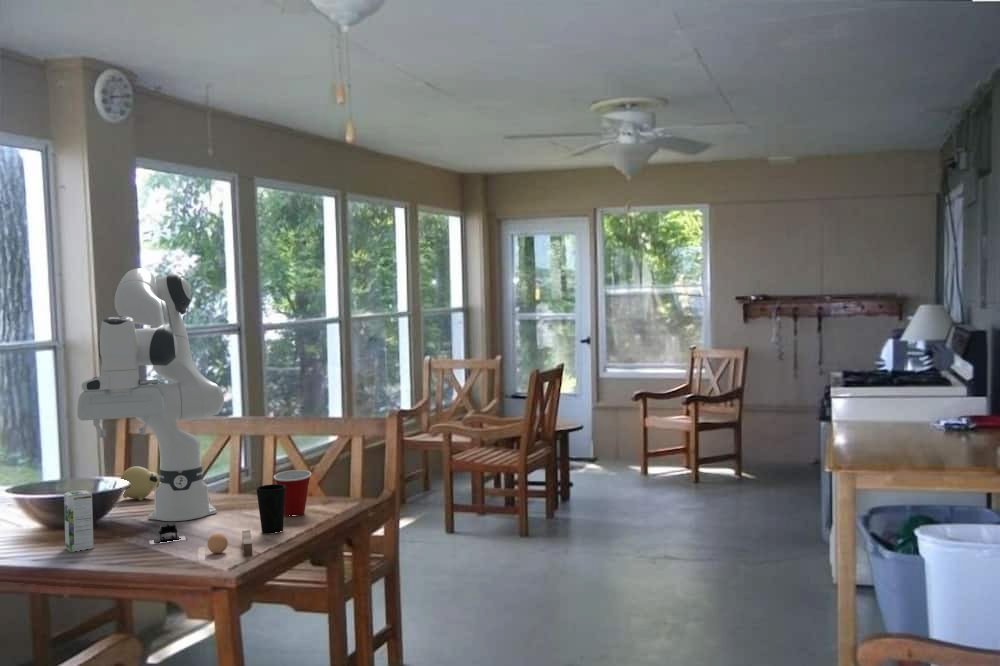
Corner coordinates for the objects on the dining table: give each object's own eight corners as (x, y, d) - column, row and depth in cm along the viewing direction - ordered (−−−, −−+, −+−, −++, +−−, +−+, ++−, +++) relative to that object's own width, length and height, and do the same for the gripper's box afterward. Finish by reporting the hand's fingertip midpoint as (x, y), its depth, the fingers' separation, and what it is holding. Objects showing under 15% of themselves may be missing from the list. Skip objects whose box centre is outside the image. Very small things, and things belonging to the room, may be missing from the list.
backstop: (242, 542, 242) (242, 530, 241) (250, 541, 242) (250, 530, 242) (243, 556, 228) (243, 544, 228) (252, 555, 229) (251, 543, 229)
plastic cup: (269, 519, 267) (267, 477, 267) (282, 510, 278) (280, 470, 277) (306, 519, 266) (304, 477, 265) (317, 510, 276) (316, 469, 276)
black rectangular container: (144, 549, 240) (143, 531, 240) (141, 542, 247) (140, 525, 247) (194, 541, 246) (194, 524, 246) (190, 535, 252) (190, 518, 252)
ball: (231, 537, 235) (220, 554, 234) (214, 528, 234) (203, 545, 233) (231, 541, 230) (221, 559, 230) (214, 532, 229) (203, 550, 228)
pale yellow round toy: (158, 501, 295) (156, 467, 295) (117, 504, 293) (116, 470, 292) (162, 494, 305) (161, 462, 304) (123, 497, 302) (121, 464, 302)
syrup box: (64, 548, 240) (62, 492, 240) (89, 544, 244) (86, 489, 243) (70, 553, 236) (67, 495, 235) (95, 548, 239) (92, 492, 239)
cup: (279, 535, 248) (278, 490, 247) (252, 534, 250) (251, 489, 249) (291, 528, 255) (290, 484, 255) (265, 527, 257) (264, 484, 257)
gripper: (164, 378, 241) (167, 431, 241) (78, 382, 235) (81, 437, 235) (163, 380, 235) (165, 434, 235) (74, 384, 229) (77, 440, 229)
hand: (122, 436), depth 235 cm, fingers open, 8 cm apart
